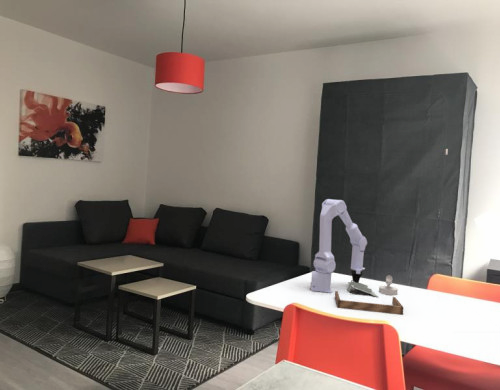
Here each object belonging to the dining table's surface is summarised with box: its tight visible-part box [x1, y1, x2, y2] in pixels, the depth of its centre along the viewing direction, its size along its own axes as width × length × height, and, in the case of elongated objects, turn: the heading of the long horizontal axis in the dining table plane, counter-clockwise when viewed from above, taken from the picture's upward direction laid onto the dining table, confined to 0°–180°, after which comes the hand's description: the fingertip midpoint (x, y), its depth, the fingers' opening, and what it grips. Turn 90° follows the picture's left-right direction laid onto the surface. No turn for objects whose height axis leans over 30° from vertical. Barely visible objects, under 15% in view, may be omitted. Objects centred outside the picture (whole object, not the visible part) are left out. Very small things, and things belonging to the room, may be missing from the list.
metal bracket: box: [346, 279, 379, 298], centre depth 201 cm, size 14×6×15 cm
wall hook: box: [378, 275, 399, 296], centre depth 204 cm, size 9×10×10 cm
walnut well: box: [334, 290, 404, 315], centre depth 178 cm, size 26×16×3 cm, turn 82°
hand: (355, 285), depth 211 cm, fingers closed
